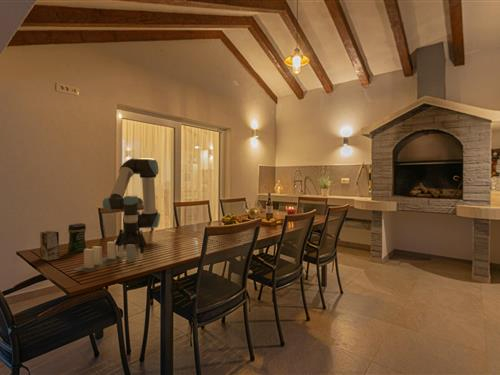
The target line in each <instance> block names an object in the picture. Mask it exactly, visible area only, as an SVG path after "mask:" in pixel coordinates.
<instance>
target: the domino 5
mask: <svg viewBox="0 0 500 375" xmlns="http://www.w3.org/2000/svg"><path fill="white" fill-rule="evenodd" d="M125 245H126V246H125V247H126V248H125V249H126V250H125V252H126V253H125V255H126V257H125V259H126V262H131V263H133V262H136V244H125Z"/></svg>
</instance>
